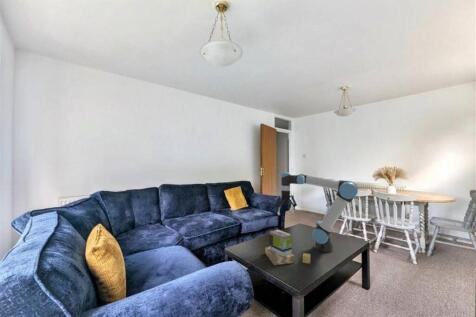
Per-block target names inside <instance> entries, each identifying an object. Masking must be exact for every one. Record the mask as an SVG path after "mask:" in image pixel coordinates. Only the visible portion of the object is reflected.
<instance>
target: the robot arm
mask: <svg viewBox="0 0 476 317" xmlns="http://www.w3.org/2000/svg"><path fill="white" fill-rule="evenodd" d="M280 179H281V180H280V181H281V182H280V183H281V184H280V186H281V187H280V188H281V189H280V190H281V191H280V192H281V195H278V196H277V199H276V201H275V203H274V207H275V208H276V211H277V215H278V216H280V215H281V212H280V208H281V207H280V206H281V205H282V204H283V202H289V203H290V204H291V214H293V215H295V210H296V207H297V206H298V204H297V202H296V200H295V196H294V195H293V194H291V184H292V185H305V184H306V185H311V186H316V187H319V188H320V187H322V188H325V189H330V190H335V191H336V193H335V199H334V200H333V202H332V203H331V206H330V207H329V209H328V210H327V211H326V214H325V215H324V217H323V218H322V220H317V221H316V222H315V227H314V229H313V230H312V232H311V236H312V237H311V238H312V239H313V241H314V243H313V247H314V249H315V250H316V251H319V252H322V253H331V252H333V251H334V246H333V243H332V238H331V237H332V233H333V227H334V225H335V224H336V223H337V221H338V219H339V218H340V216H341V214H342V213H343V211H344V210H345V208H346V206H347V205H348V204H350V203H352V202H353V200H354V199H355V197H357V194H358V185H357V183H355V182H354V181H352V180H342V179H339V180H335V179H329V178H325V177H318V176H312V175H307V174H303V173H299V174H296V175H295V174H291V173H290V172H281V177H280Z"/></svg>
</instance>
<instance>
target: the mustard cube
mask: <svg viewBox="0 0 476 317" xmlns="http://www.w3.org/2000/svg"><path fill="white" fill-rule="evenodd" d="M302 263H303V264H304V263H305V264H309V265H310V264H311V254H310V253H305V252H303V254H302Z"/></svg>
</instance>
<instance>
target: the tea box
mask: <svg viewBox="0 0 476 317" xmlns="http://www.w3.org/2000/svg"><path fill="white" fill-rule="evenodd" d="M292 237H293V236H292V234H290V233H289V232H285V231H283V230H280V229H275V230H271V231H269V238H268V239H269V247H270V250H271V251H273V252H275V253H277V254H279V255H281V256H283V257H284V256H287V255H289V254H293V253H292V252H293V249H292V248H293V247H292V246H293V245H292V243H293V240H292V239H293V238H292Z"/></svg>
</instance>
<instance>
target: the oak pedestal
mask: <svg viewBox="0 0 476 317" xmlns="http://www.w3.org/2000/svg"><path fill="white" fill-rule="evenodd" d="M264 251H265V252H264V254H265V255H266V256H267V258H268V257H269V258H268V259H269V260H270V261H271V263H272V264H273V265H274V266H278V265H279V266H280V265H287V264H294V263H295V261H296V260H295V258H296V257H295V256H296V255H294V254H293V253H292V254H289V255H287V256H284V257H283V256H281V255H279V254H277V253H275V252H273V251H271V250H270V246H266V247H265V250H264Z"/></svg>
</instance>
